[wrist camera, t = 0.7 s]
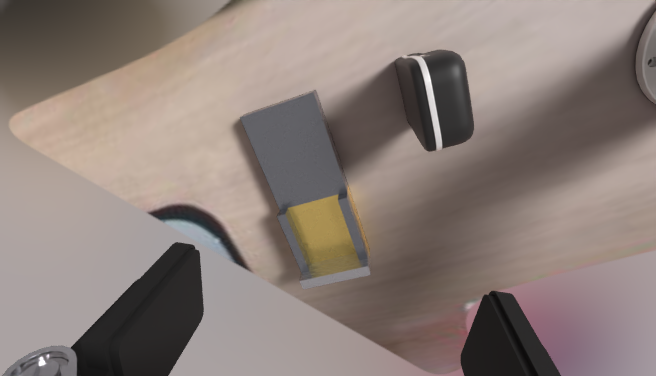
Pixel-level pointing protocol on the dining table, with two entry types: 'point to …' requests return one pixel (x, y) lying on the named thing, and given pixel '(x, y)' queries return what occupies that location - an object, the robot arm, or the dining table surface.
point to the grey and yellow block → (309, 190)
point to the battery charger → (436, 98)
